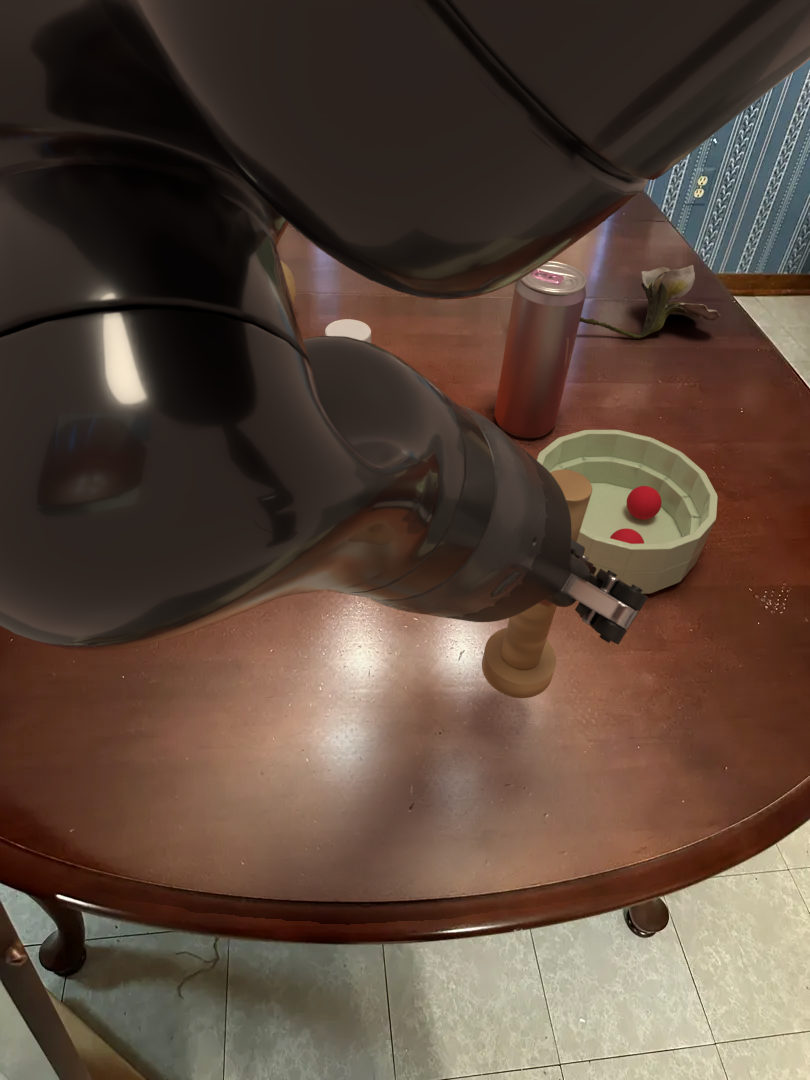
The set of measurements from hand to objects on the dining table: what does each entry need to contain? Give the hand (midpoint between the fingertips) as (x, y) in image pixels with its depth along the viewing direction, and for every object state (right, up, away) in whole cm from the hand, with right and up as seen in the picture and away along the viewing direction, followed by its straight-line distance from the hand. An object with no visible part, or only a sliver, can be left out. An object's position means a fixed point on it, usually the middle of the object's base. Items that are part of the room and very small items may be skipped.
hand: (559, 568), depth 45 cm
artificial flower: (+15, +25, +45) cm, 54 cm away
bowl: (+8, +2, +20) cm, 22 cm away
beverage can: (+3, +13, +31) cm, 34 cm away
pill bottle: (-14, +13, +30) cm, 35 cm away
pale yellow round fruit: (-25, +26, +42) cm, 55 cm away
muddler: (-2, -6, +4) cm, 8 cm away
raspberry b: (+11, +5, +20) cm, 24 cm away
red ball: (+8, +1, +17) cm, 19 cm away
